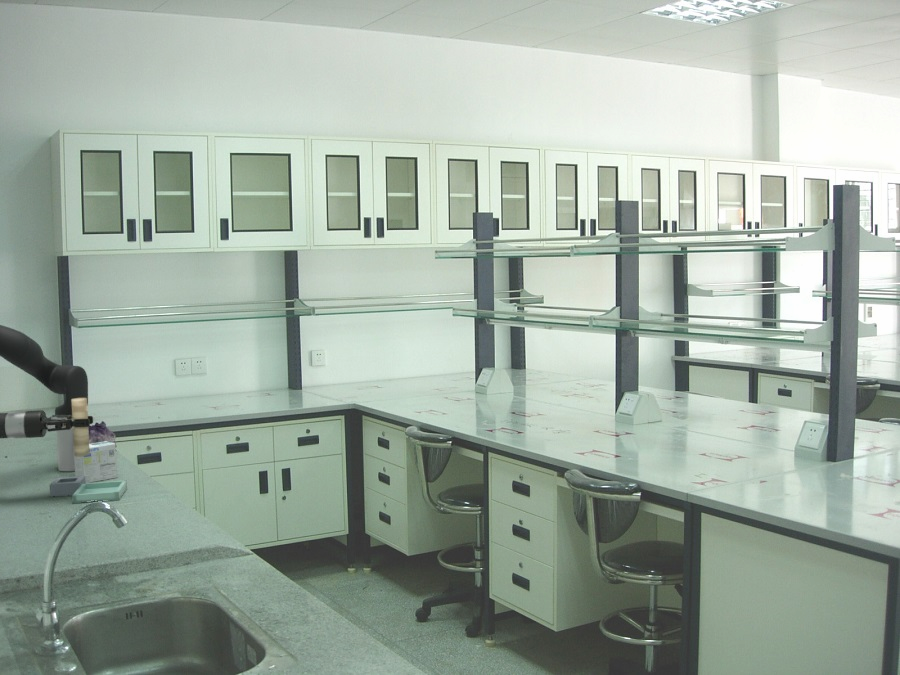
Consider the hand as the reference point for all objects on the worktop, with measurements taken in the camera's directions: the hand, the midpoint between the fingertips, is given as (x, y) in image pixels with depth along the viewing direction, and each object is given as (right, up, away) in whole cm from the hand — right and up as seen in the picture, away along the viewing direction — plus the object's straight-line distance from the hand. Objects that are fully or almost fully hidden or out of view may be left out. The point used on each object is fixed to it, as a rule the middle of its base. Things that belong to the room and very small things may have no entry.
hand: (90, 421), depth 255 cm
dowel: (-3, -10, 0) cm, 10 cm away
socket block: (-8, -21, +5) cm, 23 cm away
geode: (-25, -17, +68) cm, 74 cm away
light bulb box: (-6, -20, +20) cm, 29 cm away
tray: (+3, -21, 0) cm, 21 cm away
